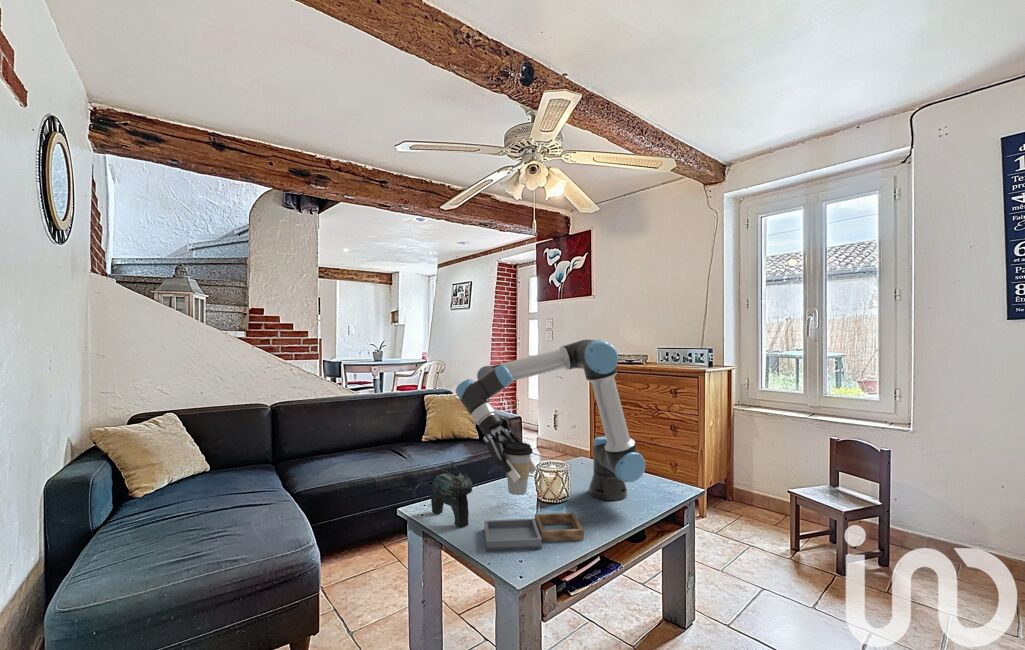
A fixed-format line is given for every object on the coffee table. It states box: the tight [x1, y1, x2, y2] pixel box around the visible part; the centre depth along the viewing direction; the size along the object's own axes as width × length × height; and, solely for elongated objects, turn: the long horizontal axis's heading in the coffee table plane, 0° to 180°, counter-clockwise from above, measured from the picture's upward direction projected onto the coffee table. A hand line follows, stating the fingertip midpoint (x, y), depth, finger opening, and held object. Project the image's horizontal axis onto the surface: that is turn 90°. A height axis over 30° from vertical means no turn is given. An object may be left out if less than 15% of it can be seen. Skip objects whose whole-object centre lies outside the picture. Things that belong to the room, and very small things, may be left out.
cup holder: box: [534, 512, 585, 543], centre depth 154 cm, size 14×14×3 cm
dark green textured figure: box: [430, 463, 473, 529], centre depth 162 cm, size 20×6×20 cm, turn 43°
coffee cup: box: [503, 441, 533, 496], centre depth 149 cm, size 9×9×15 cm
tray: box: [483, 518, 543, 552], centre depth 148 cm, size 17×15×3 cm
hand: (526, 475), depth 147 cm, fingers closed on coffee cup, 9 cm apart
